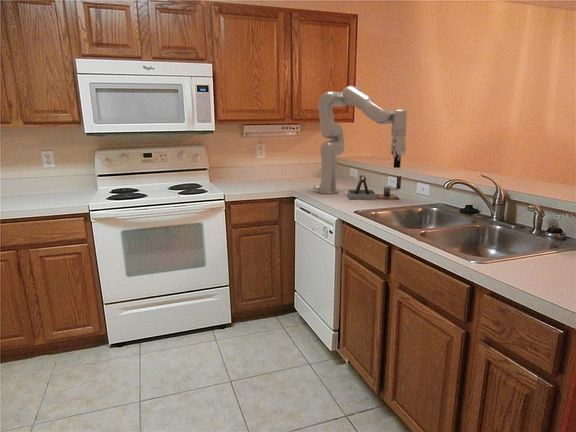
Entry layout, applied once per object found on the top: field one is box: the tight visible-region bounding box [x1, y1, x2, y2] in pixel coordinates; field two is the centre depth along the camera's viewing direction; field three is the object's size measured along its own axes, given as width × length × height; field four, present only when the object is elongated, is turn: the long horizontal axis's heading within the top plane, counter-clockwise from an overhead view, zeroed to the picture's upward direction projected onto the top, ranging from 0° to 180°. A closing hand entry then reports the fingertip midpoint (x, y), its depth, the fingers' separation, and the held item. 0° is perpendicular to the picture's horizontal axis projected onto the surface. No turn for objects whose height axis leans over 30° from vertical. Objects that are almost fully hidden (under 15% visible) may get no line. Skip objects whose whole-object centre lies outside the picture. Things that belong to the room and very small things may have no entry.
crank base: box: [376, 193, 400, 201], centre depth 227 cm, size 12×12×1 cm
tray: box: [347, 189, 378, 201], centre depth 228 cm, size 15×16×3 cm
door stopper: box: [354, 174, 369, 194], centre depth 227 cm, size 9×6×12 cm, turn 85°
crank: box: [383, 175, 402, 196], centre depth 224 cm, size 10×4×12 cm, turn 55°
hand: (396, 167), depth 214 cm, fingers closed
